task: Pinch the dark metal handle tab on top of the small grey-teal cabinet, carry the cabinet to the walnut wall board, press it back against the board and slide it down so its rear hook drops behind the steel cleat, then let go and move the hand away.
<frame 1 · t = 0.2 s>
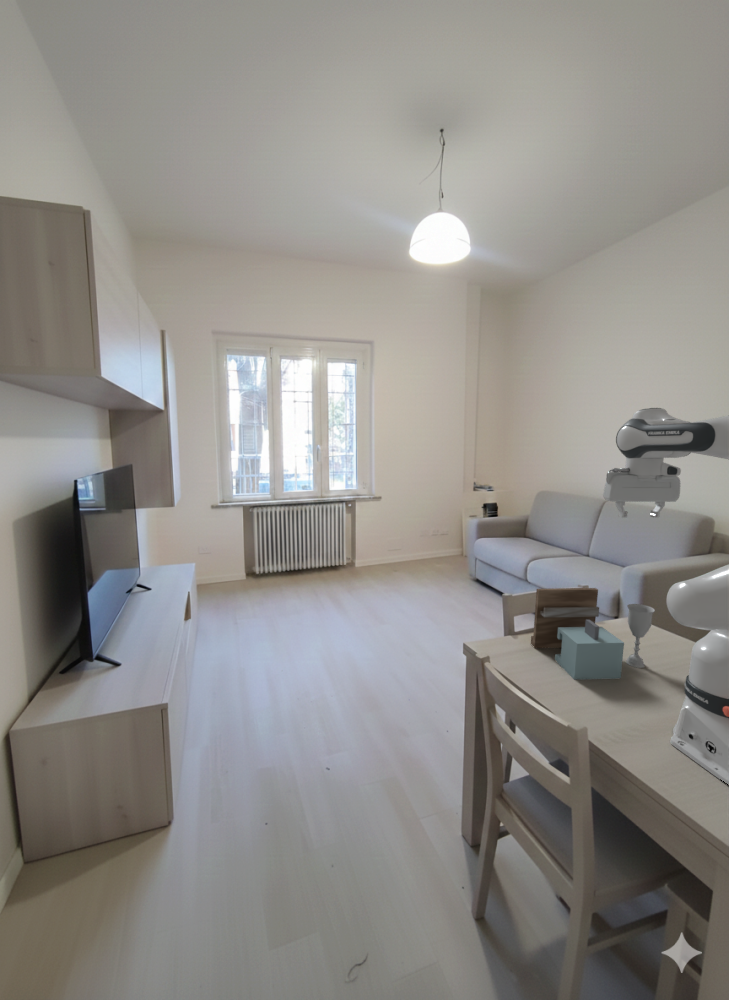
hand: (638, 517, 125), 47 cm above the table, tool pointing down, fingers open, 8 cm apart
chalice: (635, 664, 138), on the table
wall board: (563, 647, 147), on the table
cabinet: (589, 671, 133), on the table
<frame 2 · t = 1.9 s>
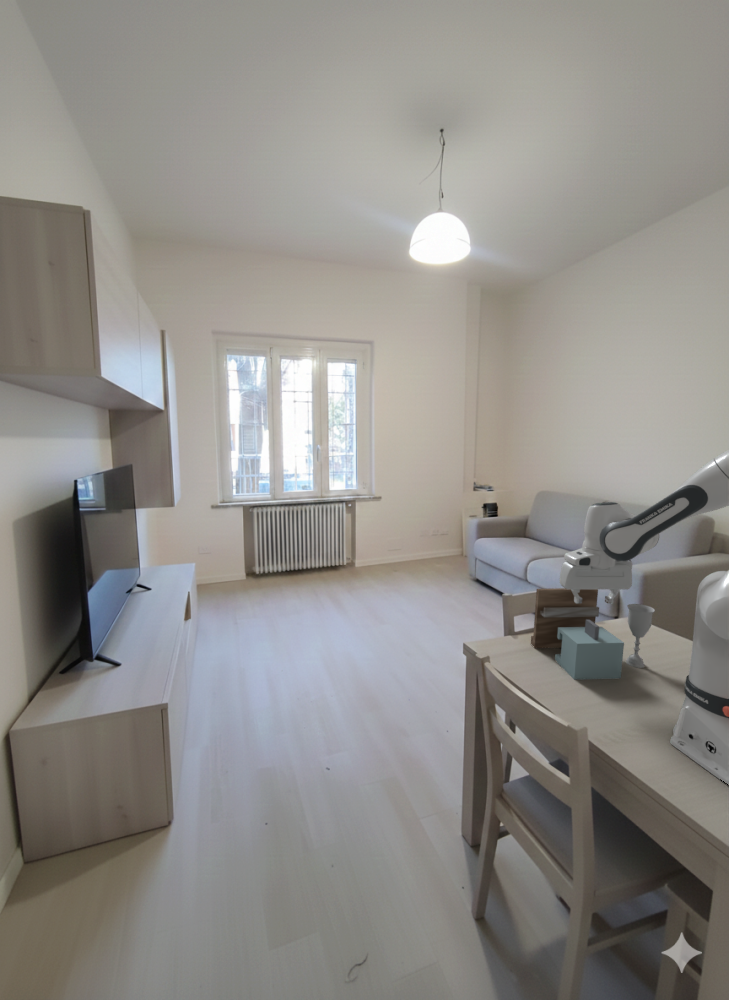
hand: (593, 602, 130), 21 cm above the table, tool pointing down, fingers open, 8 cm apart
nothing on the table moved.
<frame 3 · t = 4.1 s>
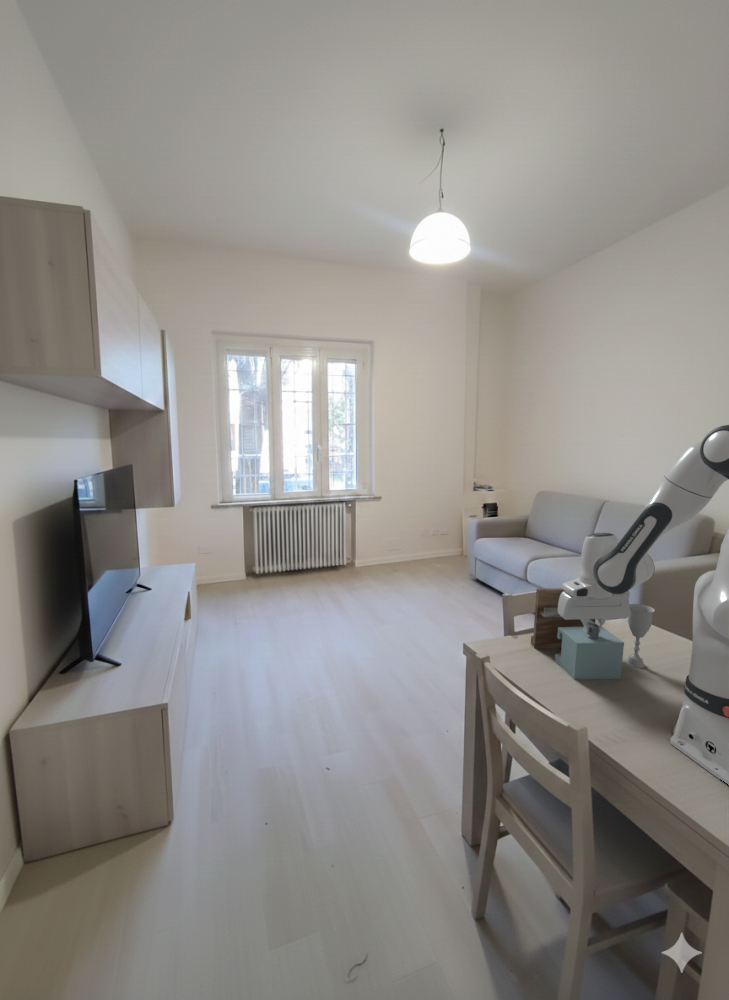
hand: (591, 632, 132), 12 cm above the table, tool pointing down, fingers closed on cabinet
cabinet: (589, 671, 133), on the table, touching gripper
everything else where it was.
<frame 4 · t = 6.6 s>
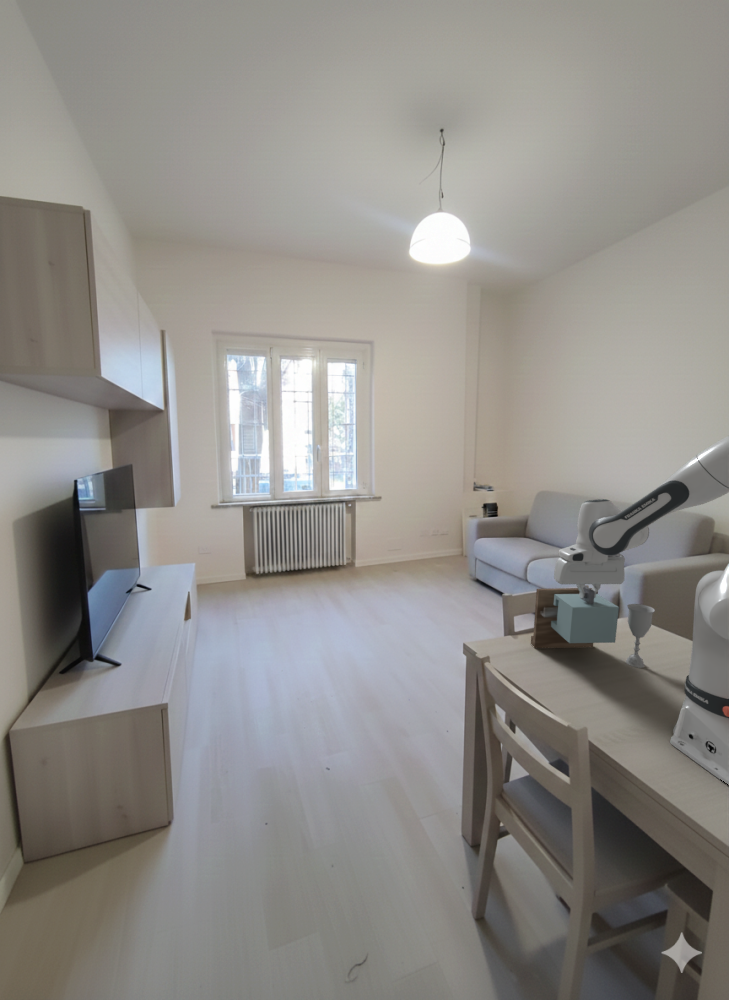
hand: (587, 597, 134), 21 cm above the table, tool pointing down, fingers closed on cabinet
cabinet: (584, 636, 135), point 9 cm above the table, touching gripper
everything else where it was.
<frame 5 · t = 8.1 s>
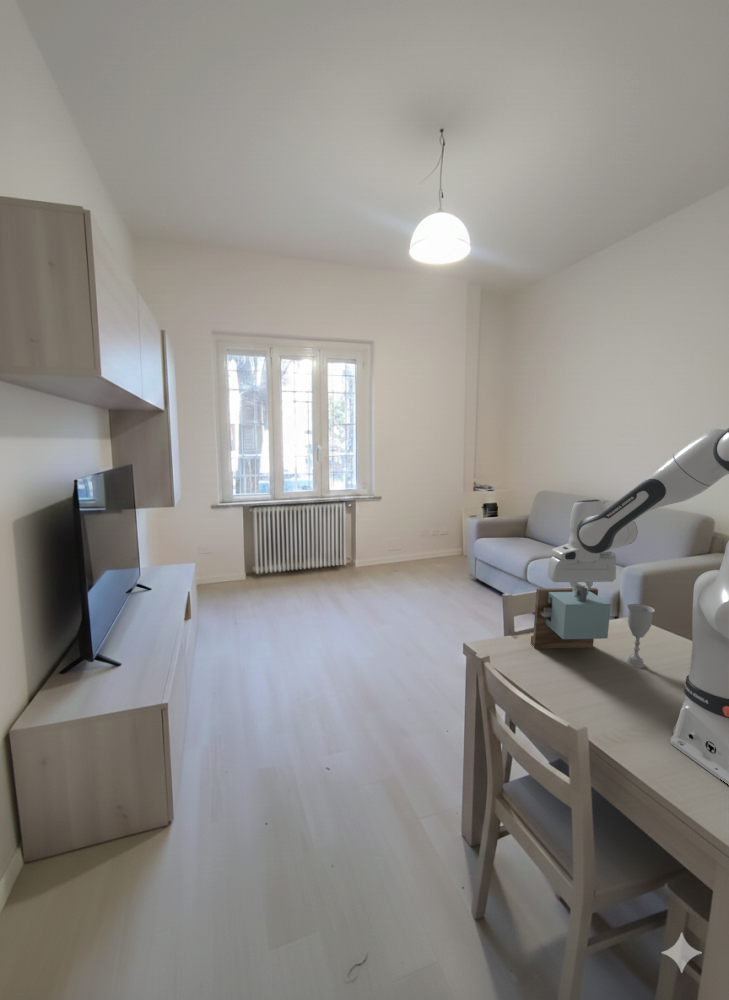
hand: (580, 595, 138), 21 cm above the table, tool pointing down, fingers closed on cabinet
cabinet: (578, 633, 139), point 9 cm above the table, touching gripper
everything else where it was.
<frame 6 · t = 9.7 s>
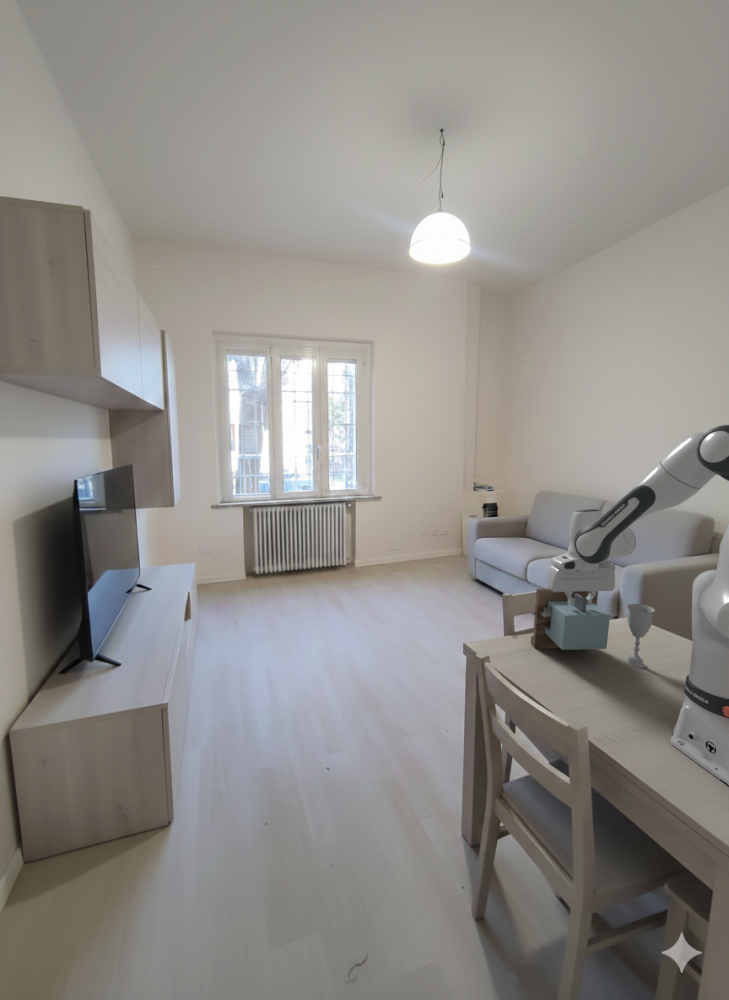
hand: (579, 604, 138), 18 cm above the table, tool pointing down, fingers open, 4 cm apart
cabinet: (577, 642, 139), point 5 cm above the table, touching wall board
everything else where it was.
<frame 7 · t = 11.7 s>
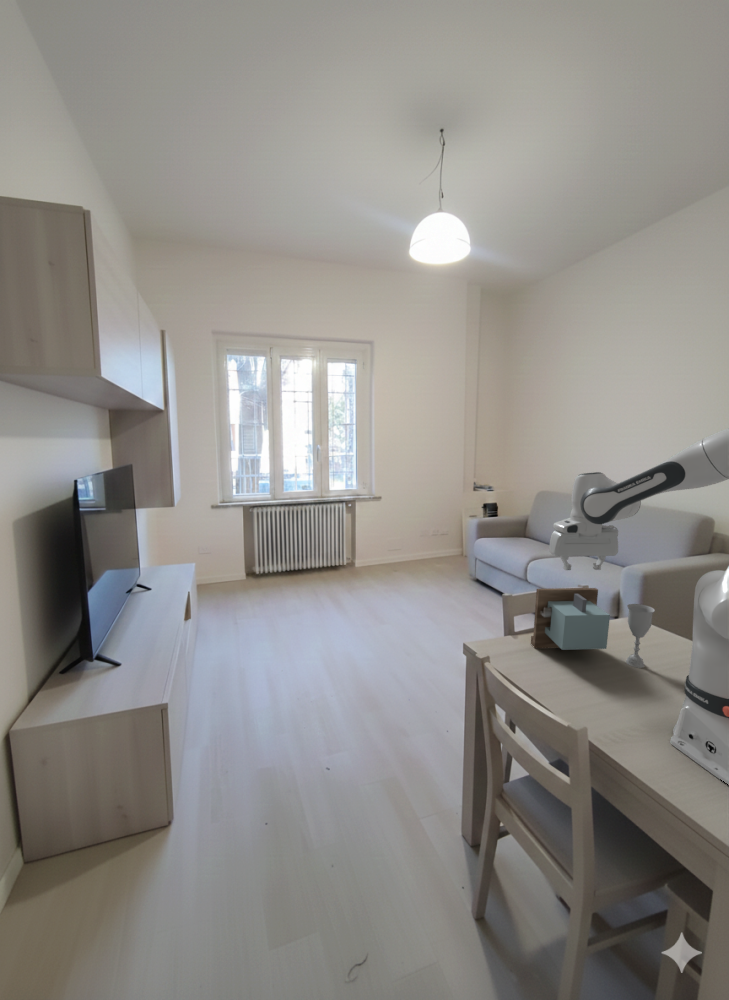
hand: (582, 569, 137), 29 cm above the table, tool pointing down, fingers open, 8 cm apart
nothing on the table moved.
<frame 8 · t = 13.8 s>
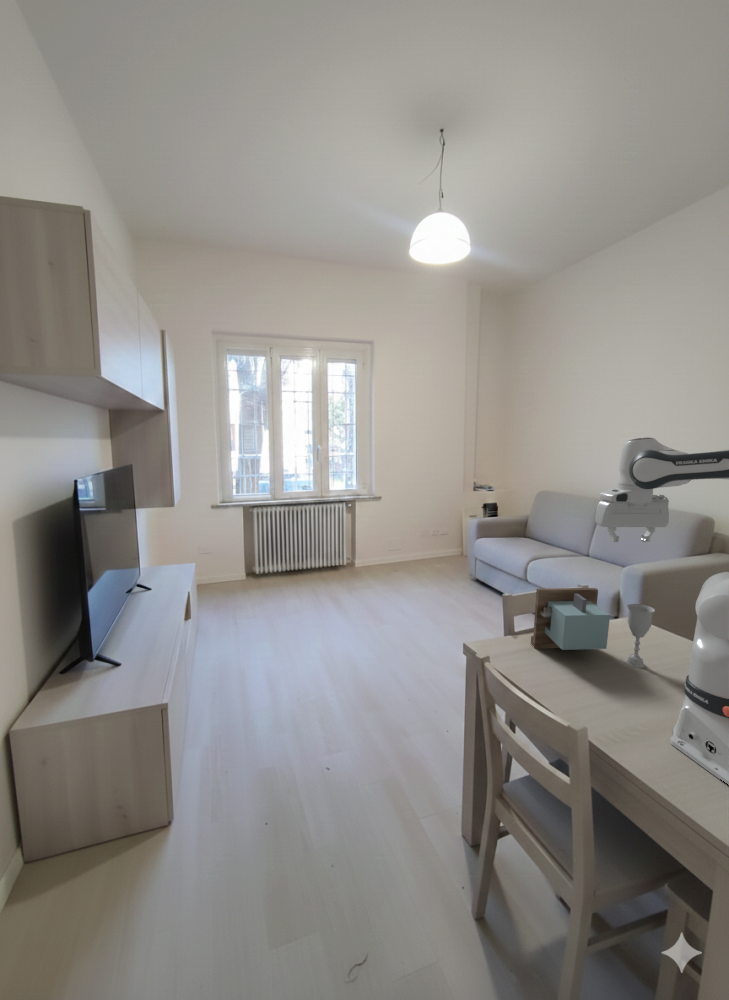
hand: (629, 541, 130), 39 cm above the table, tool pointing down, fingers open, 8 cm apart
nothing on the table moved.
at the end: cabinet 0.1 cm from the target spot, point 5.3 cm above the table; cabinet tilted 1°; cabinet touching wall board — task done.
